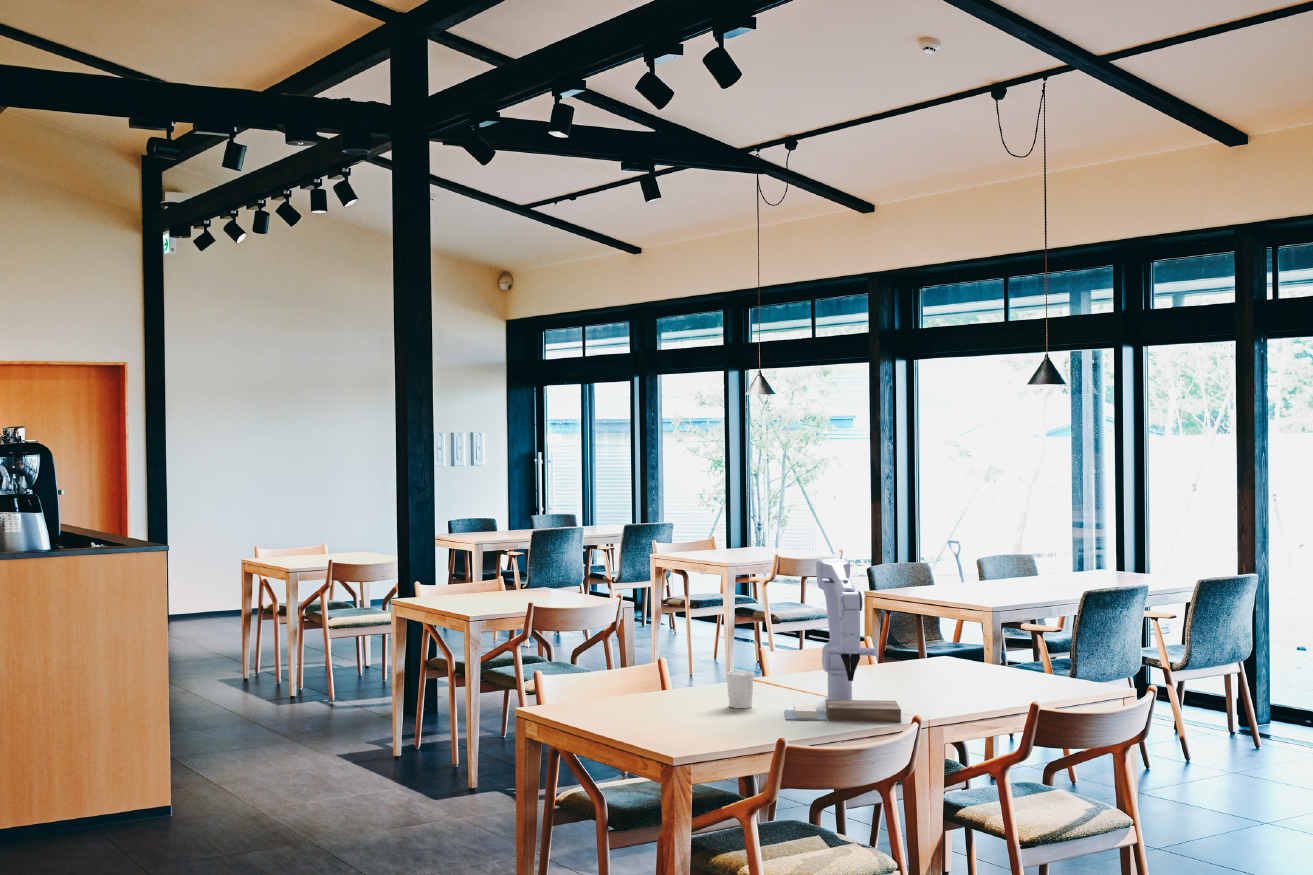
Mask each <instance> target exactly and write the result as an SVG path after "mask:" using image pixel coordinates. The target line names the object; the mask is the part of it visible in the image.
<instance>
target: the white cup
mask: <svg viewBox="0 0 1313 875" xmlns="http://www.w3.org/2000/svg"><path fill="white" fill-rule="evenodd" d="M726 680H727V697H728V705H729V706H730V707H729V706H728V707H729V708H731V707H734V708H733V709H738V708H740V709H739V710H741V708H743V710H744V709H750V708H752V703H753V701H752V700H753V690H754V672H753V671H748V670H732V671H731V670H730V671H727V672H726Z"/></svg>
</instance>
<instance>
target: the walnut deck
mask: <svg viewBox="0 0 1313 875" xmlns="http://www.w3.org/2000/svg"><path fill="white" fill-rule="evenodd" d="M825 714H826V717H827V721H828V722H872V723H873V722H874V723H875V722H877V723H878V722H883V723H885V722H887V723H890V722H891V723H895V722H896V723H897V722H898V723H902V709H901V707H900V706H899V704H898V702H897V701H896V700H873V699H872V700H867V699H866V700H864V699H863V700H861V699H857V700H856V699H853V700H826V699H825Z"/></svg>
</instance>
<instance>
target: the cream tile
mask: <svg viewBox="0 0 1313 875" xmlns="http://www.w3.org/2000/svg"><path fill="white" fill-rule="evenodd" d="M793 710H794V713H795V718H817V708H816V704H803V703H802V704H801V703H800V704H798V703H797V704H796V703H795V704H794V705H793Z"/></svg>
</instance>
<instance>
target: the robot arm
mask: <svg viewBox="0 0 1313 875" xmlns="http://www.w3.org/2000/svg"><path fill="white" fill-rule="evenodd" d="M815 564H816V566H815V571H816V572H815V574H816V582H817V587H818V588H819V589H820V590H822V591H823V594H824V598H825V604H826V606H825V607H826V614H827V624H828V634H829V641H828V642H827V643H826V644H824V645H823V647H822V651H821V653H822V654H821V655H822V656H821V663H822V664H821V665H822V669H823V671H824V672H826V673H827V696H825V698H824V699H825V701H826V700H854V699H853V697H852V696H853V691H852V690H853V687H852V686H853V685H852V684H853V681H854V676H855V672H856V670H857V668H858V664H859V663H860V661H861V656H872V657H876V656H877V649H876V648H875V647H861V612H862V610H863V603H864V602H863V594H862V593H861V591H859V590H856V588H855V586H854V583H853V581H852V580H851V579H850V576H851V562H850V561H849V559H848V558H841V559H839V558H837V559H836V558H835V559H834V558H828V559H824V558H818V559H817V561H816V563H815Z"/></svg>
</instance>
